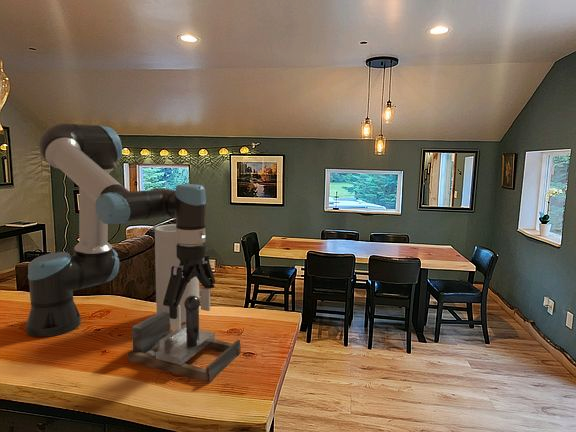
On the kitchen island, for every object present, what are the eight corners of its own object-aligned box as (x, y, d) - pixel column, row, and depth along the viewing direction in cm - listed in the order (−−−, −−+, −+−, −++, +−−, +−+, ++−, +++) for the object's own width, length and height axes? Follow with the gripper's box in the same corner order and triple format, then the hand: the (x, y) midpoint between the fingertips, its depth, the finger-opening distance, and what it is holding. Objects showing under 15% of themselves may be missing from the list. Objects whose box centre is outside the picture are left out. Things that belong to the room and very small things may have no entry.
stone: (148, 368, 105) (171, 349, 105) (137, 352, 106) (159, 333, 106) (164, 359, 115) (185, 342, 115) (153, 344, 116) (174, 327, 116)
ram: (155, 367, 104) (153, 302, 101) (191, 341, 118) (190, 283, 115) (181, 374, 100) (180, 307, 98) (215, 346, 115) (214, 288, 112)
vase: (181, 305, 147) (179, 222, 142) (208, 315, 138) (207, 227, 133) (148, 317, 135) (144, 227, 130) (175, 329, 127) (172, 233, 122)
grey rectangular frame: (127, 361, 107) (126, 330, 106) (166, 336, 122) (165, 308, 120) (209, 383, 98) (209, 349, 96) (240, 353, 112) (240, 323, 111)
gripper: (172, 256, 91) (173, 341, 94) (227, 235, 114) (226, 305, 117) (146, 252, 93) (148, 335, 97) (205, 233, 116) (205, 301, 120)
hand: (191, 319), depth 107 cm, fingers open, 13 cm apart
